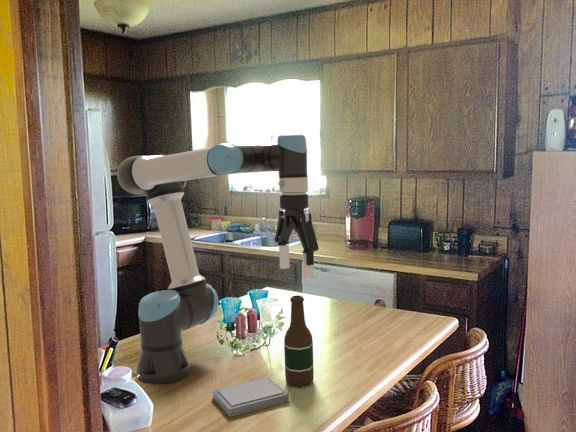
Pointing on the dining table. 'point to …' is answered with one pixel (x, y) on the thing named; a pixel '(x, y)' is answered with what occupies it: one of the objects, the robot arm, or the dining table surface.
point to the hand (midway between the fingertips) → (296, 272)
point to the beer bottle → (298, 347)
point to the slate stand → (250, 396)
